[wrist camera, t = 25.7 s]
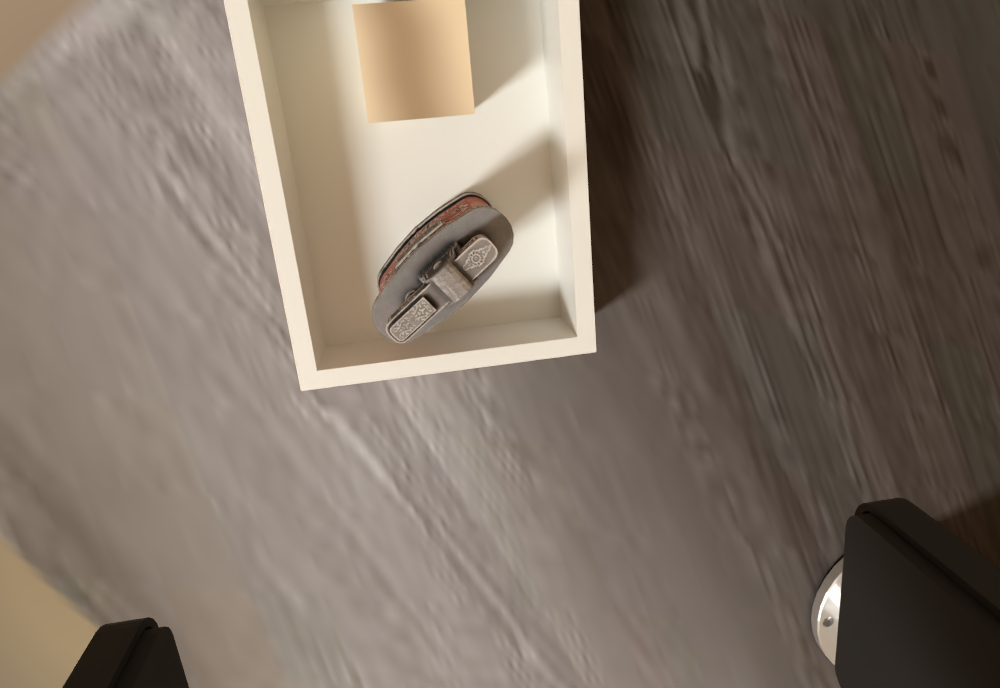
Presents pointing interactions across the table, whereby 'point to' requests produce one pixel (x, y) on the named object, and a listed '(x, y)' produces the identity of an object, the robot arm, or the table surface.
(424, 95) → the cube
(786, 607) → the table surface
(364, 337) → the tote
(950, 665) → the robot arm
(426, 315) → the lighter
